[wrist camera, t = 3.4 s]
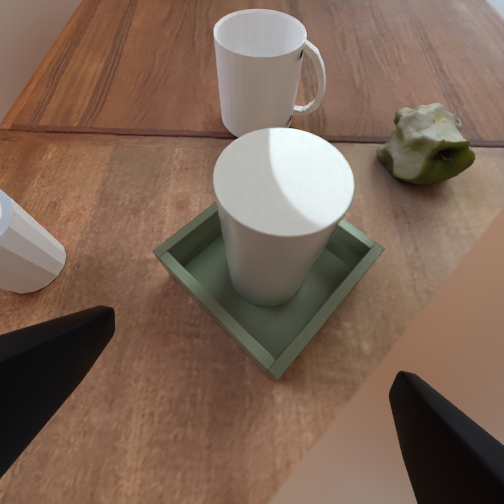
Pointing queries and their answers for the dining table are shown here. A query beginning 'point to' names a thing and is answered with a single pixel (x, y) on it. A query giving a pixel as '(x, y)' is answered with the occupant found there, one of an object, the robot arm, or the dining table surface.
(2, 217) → the faceted white cup
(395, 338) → the dining table surface
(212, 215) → the wooden box
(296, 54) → the mug
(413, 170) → the fruit
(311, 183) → the white cylinder
